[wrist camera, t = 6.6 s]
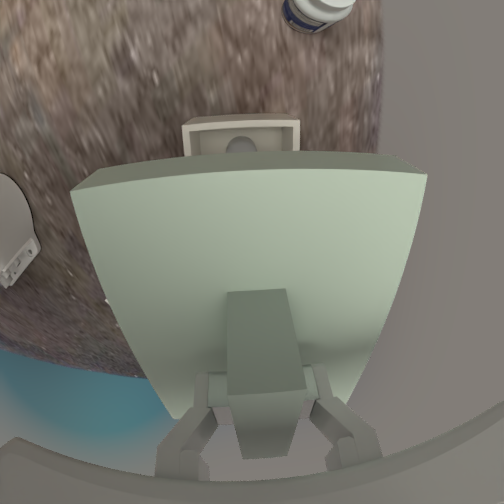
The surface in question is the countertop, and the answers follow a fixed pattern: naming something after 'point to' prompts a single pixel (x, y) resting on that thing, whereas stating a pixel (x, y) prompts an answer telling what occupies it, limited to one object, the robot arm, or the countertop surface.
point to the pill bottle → (314, 13)
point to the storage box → (241, 133)
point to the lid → (252, 272)
